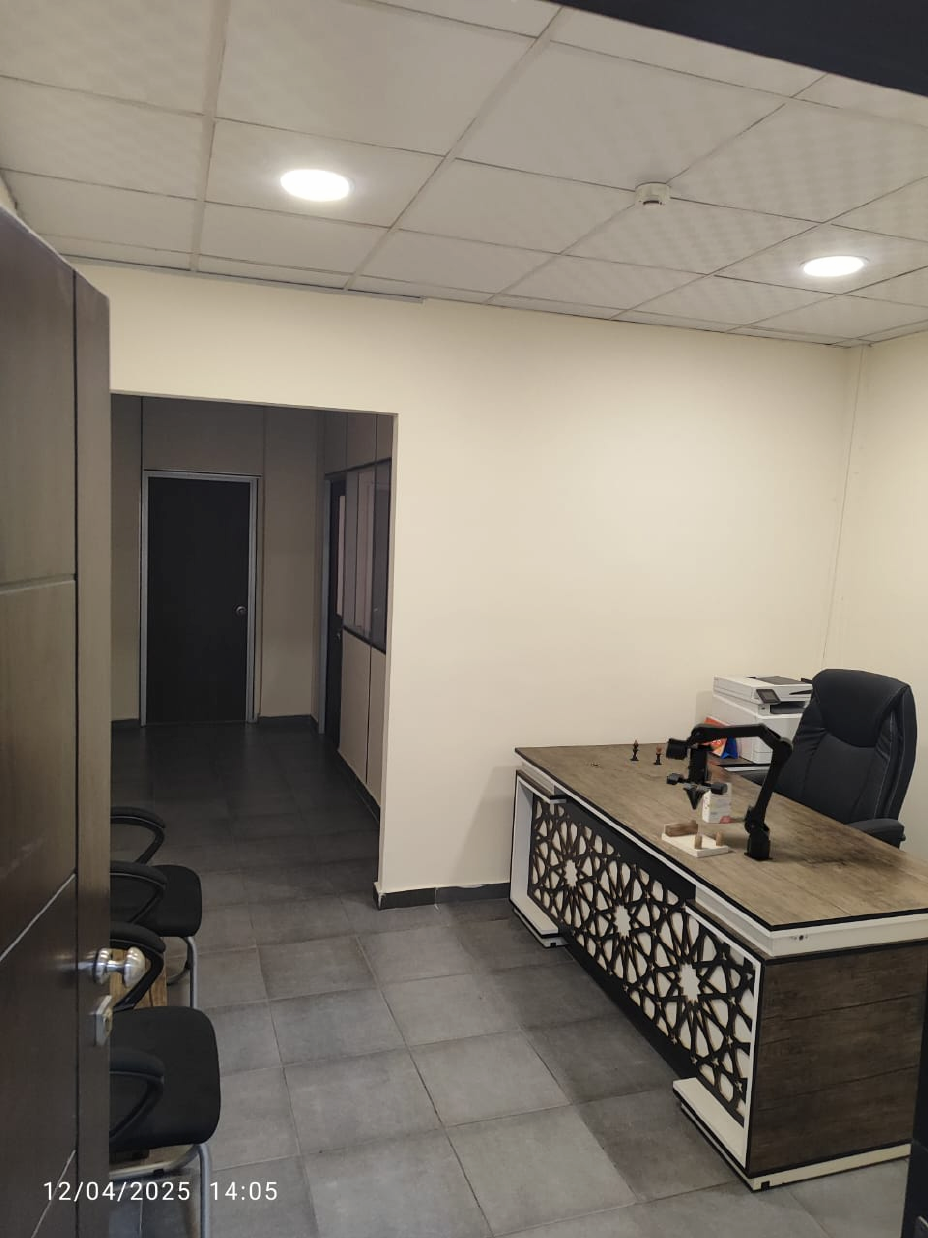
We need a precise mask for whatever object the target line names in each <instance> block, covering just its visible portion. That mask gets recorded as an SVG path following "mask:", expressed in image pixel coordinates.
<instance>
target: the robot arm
mask: <svg viewBox="0 0 928 1238" xmlns="http://www.w3.org/2000/svg"><path fill="white" fill-rule="evenodd" d="M743 738H744V739H745V738H759V739H760V740H761V741H762V742H763V743H764V744H765V745H766V746H768V748H770V749H771V750H772V752H771V753H772V754H771V758H770V762H769V763H770V764H769V767H768V770H767V772H766V775H765V778H764V779H763V782H762V784H761V785H762V786H761V788H760V790H759V793H758V796H757V799H756V800H755V802H754V805H750V804H748V805H747V808H746V809H747V810H746V813H745V814H744V816H743V819H742V822H744V823H743V827H744V830H745V831H746V832H747V833H748V834H749V835H748V838H747V843H746V847H747V848H746V851H744V852H743V855H744V856H747V857H749V858H751V859H754V860H755V861H758V862H761V861H766V860H767V861H768V860H772V859H773V858H774V857H773V856H771V855H770V852H771V843H772V842H771V840H770V836H771V828H770V827H769V826H768V825H767V824H766V822H765V821H766V815H767V809H768V806H769V803H770V801H771V799H772V798H771V797H772V796H773V794H774V793H773V792H774V790H775V787H776V785H777V783H778V780H779V778H780V775H781V772H782V770H783V769H784V767H785V766H786V765H787V763H788V761H789V759H790V758H791V756H792V755H793V751H794V744H793V741H792V740H791V739H789V738H788V737H785V736H781V735H780V734H779V733H777V731H775V730H773V729H771V728H770V727H769V726H767V725H766V724H765V723H763V722H758V723H752V724H751V723H749V724H733V725H717V724H711V723H710V724H709V723H702V722H700V723H698V724H696V725H694V727H693V728H692V730H691V731H690V736H687V737H686V739H679V738H678V739H677V738H674V737H668V741H667V746H666V747H667V748H666V749H665V755H666V758H668V759H675V760H682V761H684V759H685V758H688V759H690V761H689V766H688V768H687V770H688V774H687V777H686V778H685V776H684V774H683V775H682V774H677V773H672V774H670V775H669V776H667V778H666V779H665V782H666V785H670V786H676V785H678V784H682V785H683V787H682V790H683V791H684V792H685V793H686V795H687V797H688V799H689V802H690V806H691V807H692V810H695V811H696V810H697V808H698V806H699V804H700V802H701V800H702V798H703V797H704V794H706V793H707V792H709V790H710V791H711V793H712V794H716V795H724V794H725V793H726V792H727V790H728V786H727V784H726V783H727V782H720V781H714V782H712V783H713V784H711V783H709V782H711V781H712V776H713V771H711V770H710V769H709V765H708V763H709V753H710V752H712V753H714V752H715V750H716V748H715V747H714V745H712V742H715V741H719V740H723V739H725V740H726V739H727V740H728V739H743ZM696 744H697V745H696Z"/></svg>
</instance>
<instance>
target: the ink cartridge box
mask: <svg viewBox="0 0 928 1238" xmlns="http://www.w3.org/2000/svg"><path fill="white" fill-rule="evenodd" d="M713 783H714V782H711V783H710V784H713ZM725 783H726V784H727V786H728V790H727V792H726V793H725V794H724V795H716V794H712V793H711V791H710V790H709V792H707V793H706V794H704V795H703V800H702V801H703V802H702V816H701V819H702V821H704V822H706V823H707V824H730V822H731V809H732V797H733V796H732V795H733V792H732V789H733V788H732V784H733V783H732V782H725Z"/></svg>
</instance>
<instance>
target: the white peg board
mask: <svg viewBox="0 0 928 1238" xmlns="http://www.w3.org/2000/svg"><path fill="white" fill-rule="evenodd" d="M673 824H676V823H674V822H673V823H668V824H667V823H664V824H663V833H661V840H662V841H664V842H666V843H668V844H670V845H672V846H674V847H675V848H678V849H679V850H680V851H684V852H685V853H687V854H689V855H691V856H693V857H695V858H701V857H702V858H703V857H709V856H715V855H717V856H718V855H721V854H722V855H723V854H727V853H729V846H728V845H726V844H724V836H725V833H724V832H721V831H717V832H716V838H715V839H713V838H711V837H709V836H707V835H704V834H703V833H701V832H699V831H698V833H695V834H687V835H679V836H671V837H669V836H667V835H666V834H665V828H666V825H673Z"/></svg>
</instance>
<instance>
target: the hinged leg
mask: <svg viewBox="0 0 928 1238" xmlns="http://www.w3.org/2000/svg"><path fill="white" fill-rule="evenodd" d="M696 822H697V821H696V820H694V819H690V822H684V823H683V822H682V823H675V824H673V825H666V828H665V834H666V835H667V836H669V837H671V836H679V835H687V834H695V833H698V832H699V831H698V830H699V824H698V823H696Z"/></svg>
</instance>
